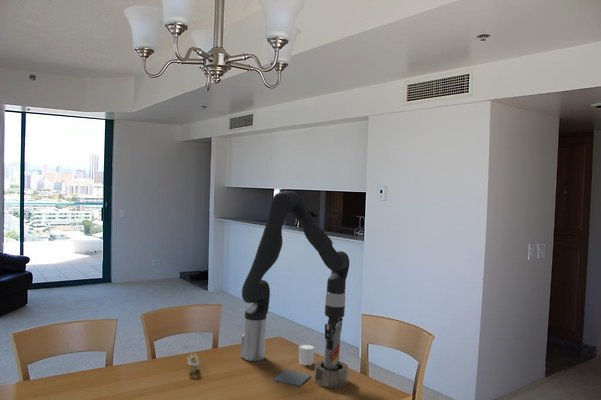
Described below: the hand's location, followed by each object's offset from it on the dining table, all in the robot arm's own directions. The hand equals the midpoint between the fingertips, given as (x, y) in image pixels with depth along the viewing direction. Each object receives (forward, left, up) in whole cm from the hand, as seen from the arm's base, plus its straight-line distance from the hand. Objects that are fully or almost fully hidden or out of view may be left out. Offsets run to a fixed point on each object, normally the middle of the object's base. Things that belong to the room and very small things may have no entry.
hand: (332, 347), depth 188 cm
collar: (0, 0, -13) cm, 13 cm away
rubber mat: (-14, -5, -13) cm, 20 cm away
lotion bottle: (0, 0, -8) cm, 8 cm away
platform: (-51, -19, -14) cm, 56 cm away
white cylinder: (-16, +13, -14) cm, 24 cm away
